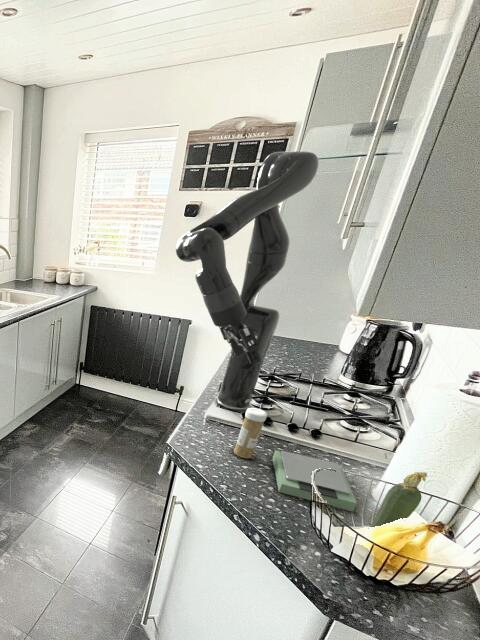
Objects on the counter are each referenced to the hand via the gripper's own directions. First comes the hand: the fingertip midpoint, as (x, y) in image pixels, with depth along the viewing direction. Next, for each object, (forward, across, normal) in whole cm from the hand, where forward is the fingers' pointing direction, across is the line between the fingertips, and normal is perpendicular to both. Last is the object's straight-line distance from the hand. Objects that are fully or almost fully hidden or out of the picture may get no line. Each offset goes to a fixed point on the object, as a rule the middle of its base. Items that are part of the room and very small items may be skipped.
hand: (247, 357), depth 110 cm
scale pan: (+29, -14, +1) cm, 32 cm away
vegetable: (+33, -35, +4) cm, 49 cm away
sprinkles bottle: (+24, -3, +12) cm, 27 cm away
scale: (+31, -14, +3) cm, 34 cm away
